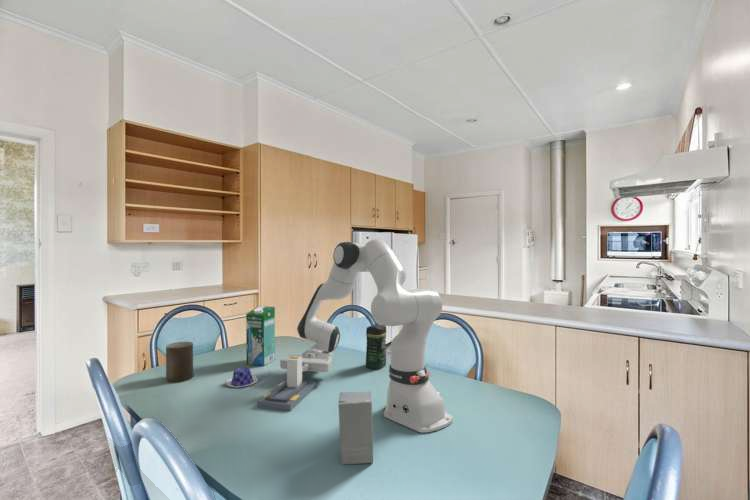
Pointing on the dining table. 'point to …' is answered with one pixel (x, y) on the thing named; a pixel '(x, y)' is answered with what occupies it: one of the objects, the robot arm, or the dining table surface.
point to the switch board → (286, 396)
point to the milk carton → (260, 335)
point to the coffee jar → (376, 346)
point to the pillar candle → (179, 361)
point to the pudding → (242, 378)
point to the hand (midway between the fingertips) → (297, 370)
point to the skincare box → (355, 428)
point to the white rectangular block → (294, 371)
